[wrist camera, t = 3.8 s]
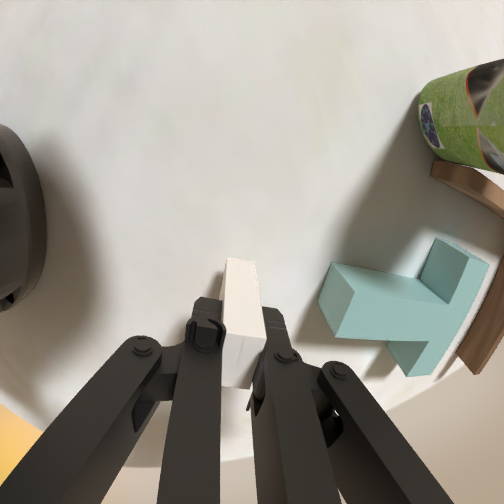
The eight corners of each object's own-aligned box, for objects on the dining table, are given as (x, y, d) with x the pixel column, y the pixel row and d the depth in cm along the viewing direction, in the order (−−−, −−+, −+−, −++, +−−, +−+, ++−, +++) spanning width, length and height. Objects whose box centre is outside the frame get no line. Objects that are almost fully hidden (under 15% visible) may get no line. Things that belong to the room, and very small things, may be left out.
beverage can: (471, 160, 15) (598, 199, 4) (402, 165, 15) (565, 215, 4) (460, 81, 13) (587, 79, 2) (386, 71, 13) (542, 31, 2)
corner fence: (359, 354, 21) (377, 388, 17) (434, 160, 15) (473, 168, 11) (461, 352, 23) (479, 373, 19) (520, 217, 17) (547, 229, 13)
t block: (301, 340, 20) (314, 379, 16) (347, 209, 16) (378, 228, 12) (410, 346, 21) (430, 374, 17) (457, 245, 18) (489, 264, 14)
